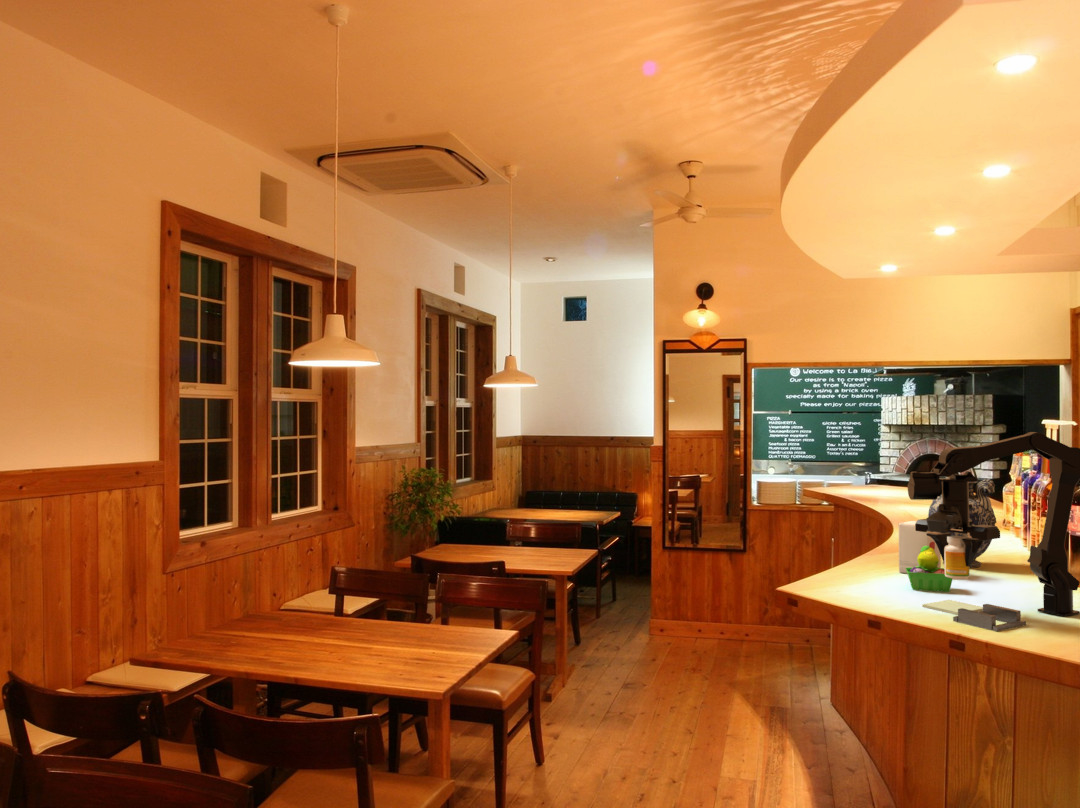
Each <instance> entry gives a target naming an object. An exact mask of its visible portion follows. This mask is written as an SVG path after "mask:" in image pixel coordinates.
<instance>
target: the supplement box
mask: <svg viewBox="0 0 1080 808" xmlns="http://www.w3.org/2000/svg"><path fill="white" fill-rule="evenodd" d="M916 522H917V520H908V521H904V522H899V523H898V572H899V573H900V574H901V573H902V574H906V575H908V573H907V571H906V568H913V567H916V566H919V564H918V561H917V558H918V555H919V554H920V551H921V548H922V547H923V546H929V547H930V548H932V549H934V551H935V553H936V555H937V556H938V558H939V563H938V565H937V567H938V568H942V567H941V566H942V565H941V561H942V560H941V559H942V557H941V554H940V552H939V549H938V547H937V545H936V543H935V541H934V540H933V539H932V538H931V537H930V536H927V535H926V534H927V533H928V531H927V532H920V531H915V524H916Z"/></svg>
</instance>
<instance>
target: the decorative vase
mask: <svg viewBox="0 0 1080 808" xmlns="http://www.w3.org/2000/svg"><path fill="white" fill-rule="evenodd" d="M945 478H950V477H945ZM976 483H977V484H976ZM941 484H942V481H941ZM974 484H975V489H974ZM995 486H996V484H995V483H994V481H993V480H990V479H989V478H987V479H982V480H981V481H976V482H968V489H969V504H972V508H971V509H969V521H973V525H972V526H976V525H991V526H996V524H997V517H996V515H995V512H994V509H993V507H992V503H991V499H990V497H989V496H990V495H991V494H995ZM974 492H975V494H974ZM939 504H942V494H941V495H940V496H938V497H937V499H936V500H931V504H930V505H929V508H928V515H927V518H928V517H929V516H931V515H932V514H934V513H936V512H938V506H939ZM972 526H970V527H972ZM947 533H951V536H961V537H965V538H968V537H967V535H968V534H964V533H956V532H947ZM992 540H993V539H989V540H985V541H983V543H982V545H981V546H980V548H979V549H978V551H977V553H976V555H975V557H974V559H973V561H972V563H971V565H970V566H969V569H976V568H977V569H978V568H981V567H982V563H981V562H980V561H978V560H977V558H979V557H980V556H982V555H983V554H984V553H985V552H986V551H987V550H988V548H989V546H990V545H991V543H992ZM942 564H943V565H944V562H943V561H942Z"/></svg>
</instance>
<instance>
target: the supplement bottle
mask: <svg viewBox="0 0 1080 808" xmlns="http://www.w3.org/2000/svg"><path fill="white" fill-rule="evenodd" d="M962 538H965V537H961V536H947V542H948V545H946V546H945V547H944V564H943V565H944V570H945V576H946V577H948V578H953V579H954V580H955V579H956V580H966V579H967V580H968V579H969V578H970V576H971V575H970V568H969V567H967V566H966V562H965V544H964V542H963V540H962ZM953 579H952V580H953Z"/></svg>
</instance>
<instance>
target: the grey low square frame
mask: <svg viewBox="0 0 1080 808" xmlns="http://www.w3.org/2000/svg"><path fill="white" fill-rule="evenodd" d="M982 607H983V611H980V612H977V611H972V610H968V609H963V608H961V609H958V615H955V616H953V617H952V620H953V622H955V623H960V624H964V625H969V626H972V627H977V628H981V629H983V630H984V629H985V630H989V631H993V632H1001V631H1005V630H1012V629H1015V628H1016V627H1017V628H1020V627H1021V628H1022V627H1026V626H1027V620H1024V619H1021V618H1022V613H1021V610H1020V609H1019V610H1018V609H1015V608H1014V609H1013V608H1008V607H1004V606H1000V605H994V604H989V603H984V604H982ZM997 622H1001V623H1000V624H997Z"/></svg>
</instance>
